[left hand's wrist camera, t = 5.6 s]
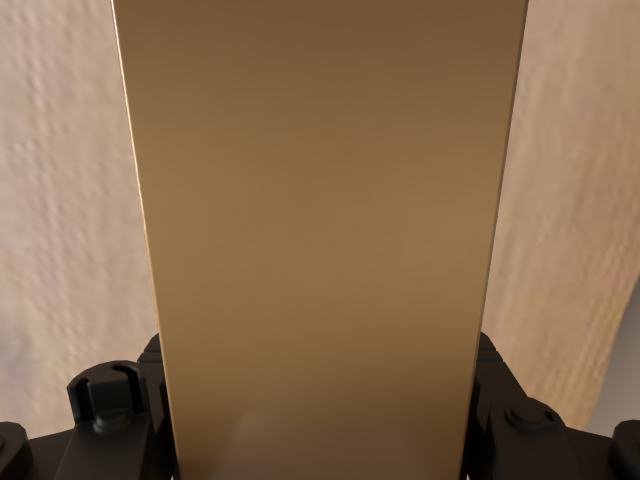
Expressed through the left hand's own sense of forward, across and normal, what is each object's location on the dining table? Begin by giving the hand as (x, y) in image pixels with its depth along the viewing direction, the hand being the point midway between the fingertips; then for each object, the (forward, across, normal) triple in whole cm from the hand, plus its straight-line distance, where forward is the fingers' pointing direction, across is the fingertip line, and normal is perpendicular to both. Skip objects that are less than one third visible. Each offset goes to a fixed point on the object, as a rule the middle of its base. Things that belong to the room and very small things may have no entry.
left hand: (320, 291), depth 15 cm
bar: (+1, 0, -7) cm, 7 cm away
